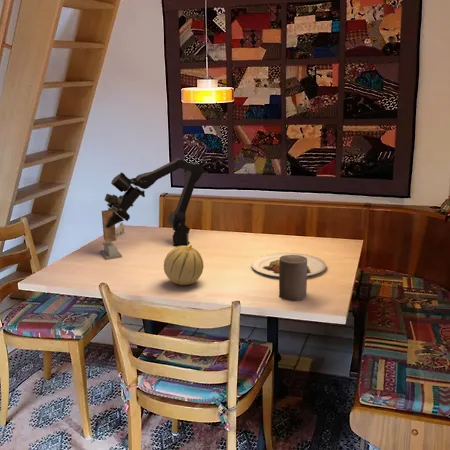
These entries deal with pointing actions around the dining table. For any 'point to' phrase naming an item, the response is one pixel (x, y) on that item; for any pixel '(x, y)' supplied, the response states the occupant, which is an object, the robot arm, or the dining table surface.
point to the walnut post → (109, 232)
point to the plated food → (271, 264)
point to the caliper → (119, 230)
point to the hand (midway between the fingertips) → (105, 225)
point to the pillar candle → (292, 277)
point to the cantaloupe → (183, 265)
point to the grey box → (110, 251)
